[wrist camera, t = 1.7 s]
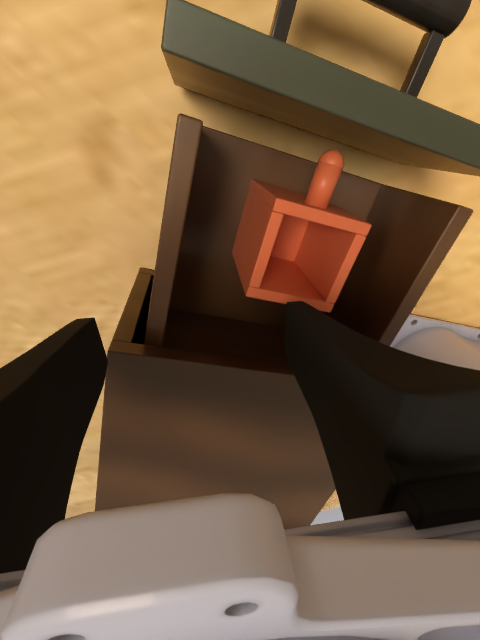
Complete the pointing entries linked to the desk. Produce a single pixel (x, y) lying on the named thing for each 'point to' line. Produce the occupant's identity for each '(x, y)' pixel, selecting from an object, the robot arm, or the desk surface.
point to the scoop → (298, 240)
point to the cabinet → (204, 426)
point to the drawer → (299, 177)
